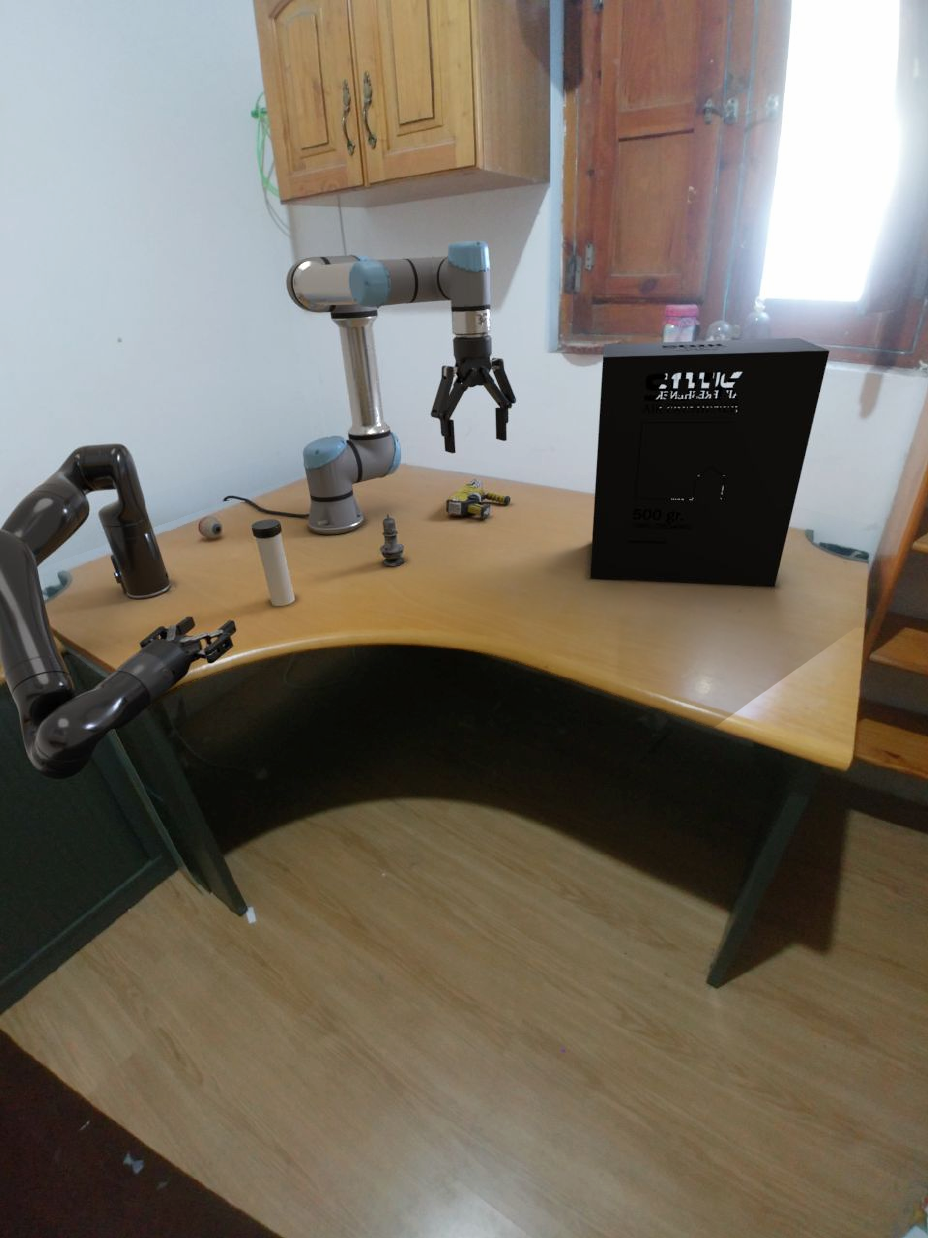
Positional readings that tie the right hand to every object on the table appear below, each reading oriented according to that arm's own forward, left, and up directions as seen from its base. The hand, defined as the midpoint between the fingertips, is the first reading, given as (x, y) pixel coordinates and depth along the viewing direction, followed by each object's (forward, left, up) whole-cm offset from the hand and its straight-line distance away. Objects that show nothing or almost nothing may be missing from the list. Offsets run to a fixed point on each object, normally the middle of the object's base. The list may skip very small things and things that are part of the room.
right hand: (476, 445), depth 127 cm
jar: (-15, -43, -28) cm, 53 cm away
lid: (-15, -43, -11) cm, 47 cm away
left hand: (0, -60, -20) cm, 64 cm away
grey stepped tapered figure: (-16, -14, -28) cm, 35 cm away
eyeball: (-64, -43, -28) cm, 82 cm away
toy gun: (-32, +26, -28) cm, 50 cm away
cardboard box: (+29, +34, -28) cm, 52 cm away
